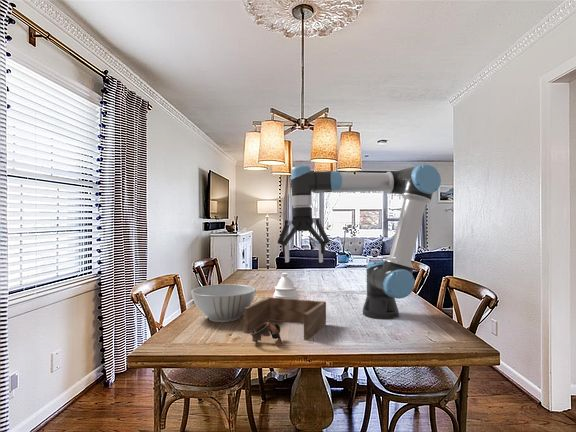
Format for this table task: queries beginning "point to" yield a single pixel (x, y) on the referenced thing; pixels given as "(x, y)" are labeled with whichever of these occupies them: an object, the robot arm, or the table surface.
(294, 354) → the table surface
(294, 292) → the honey pot
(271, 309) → the walnut u-shaped frame
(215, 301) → the decorative bowl
